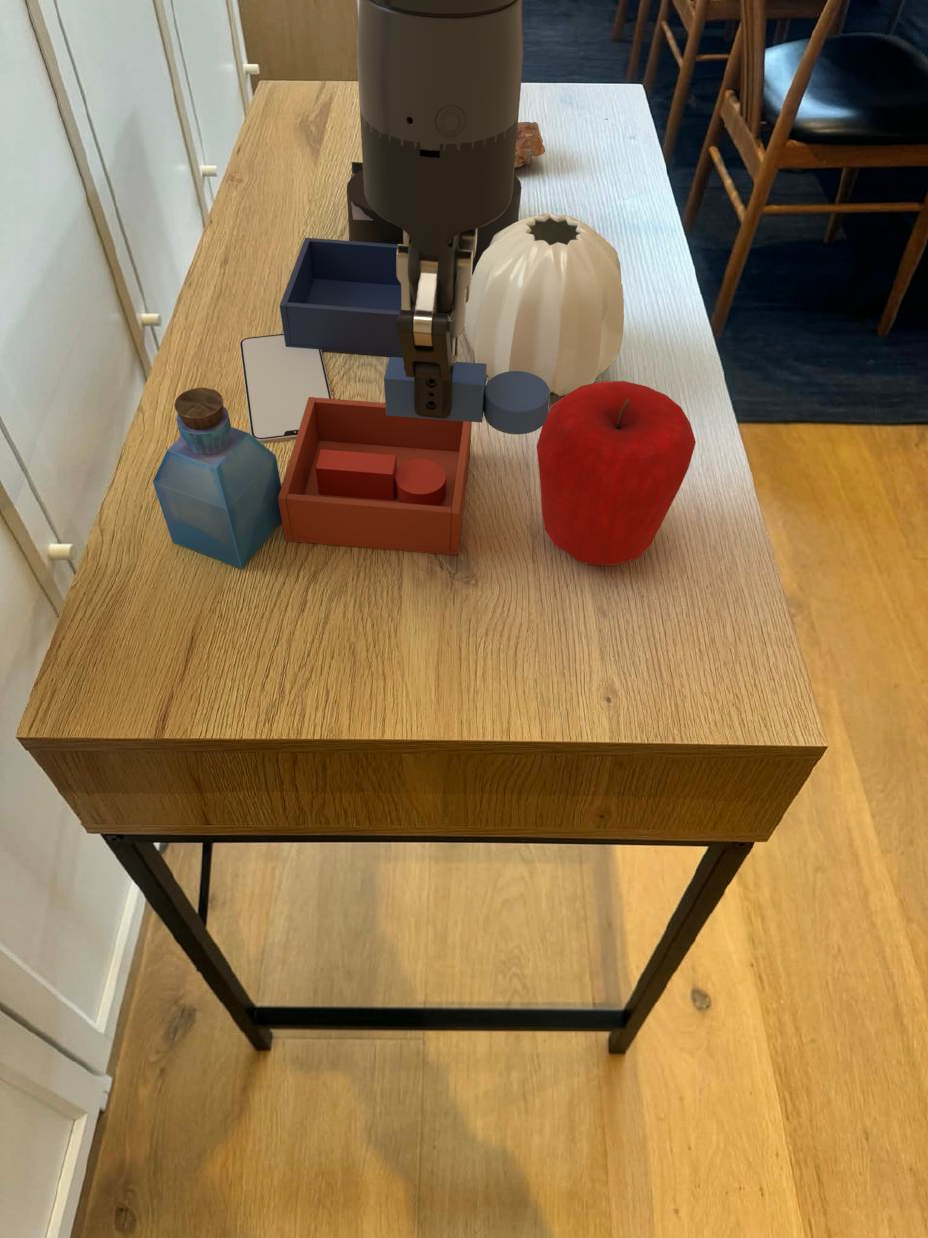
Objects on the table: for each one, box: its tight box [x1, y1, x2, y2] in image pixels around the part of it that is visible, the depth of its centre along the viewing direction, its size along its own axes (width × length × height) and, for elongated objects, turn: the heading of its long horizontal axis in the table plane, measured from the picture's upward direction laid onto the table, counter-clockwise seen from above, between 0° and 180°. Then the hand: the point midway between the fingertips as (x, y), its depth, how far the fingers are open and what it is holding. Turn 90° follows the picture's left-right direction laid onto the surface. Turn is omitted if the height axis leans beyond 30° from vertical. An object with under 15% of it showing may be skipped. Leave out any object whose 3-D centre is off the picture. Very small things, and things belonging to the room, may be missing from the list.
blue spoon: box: [383, 356, 551, 435], centre depth 55 cm, size 10×4×3 cm, turn 84°
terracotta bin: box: [278, 397, 473, 556], centre depth 69 cm, size 13×12×4 cm
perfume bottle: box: [152, 387, 282, 570], centre depth 64 cm, size 6×6×12 cm
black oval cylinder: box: [346, 161, 522, 275], centre depth 93 cm, size 14×18×8 cm
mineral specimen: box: [515, 121, 546, 168], centre depth 105 cm, size 12×8×7 cm
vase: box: [463, 212, 625, 397], centre depth 77 cm, size 14×14×13 cm
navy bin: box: [279, 237, 416, 358], centre depth 84 cm, size 13×12×4 cm
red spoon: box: [315, 449, 446, 506], centre depth 70 cm, size 10×4×3 cm, turn 85°
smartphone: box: [239, 333, 333, 444], centre depth 79 cm, size 7×1×15 cm
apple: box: [536, 380, 697, 566], centre depth 64 cm, size 10×10×14 cm
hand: (435, 398), depth 55 cm, fingers closed on blue spoon, 2 cm apart
